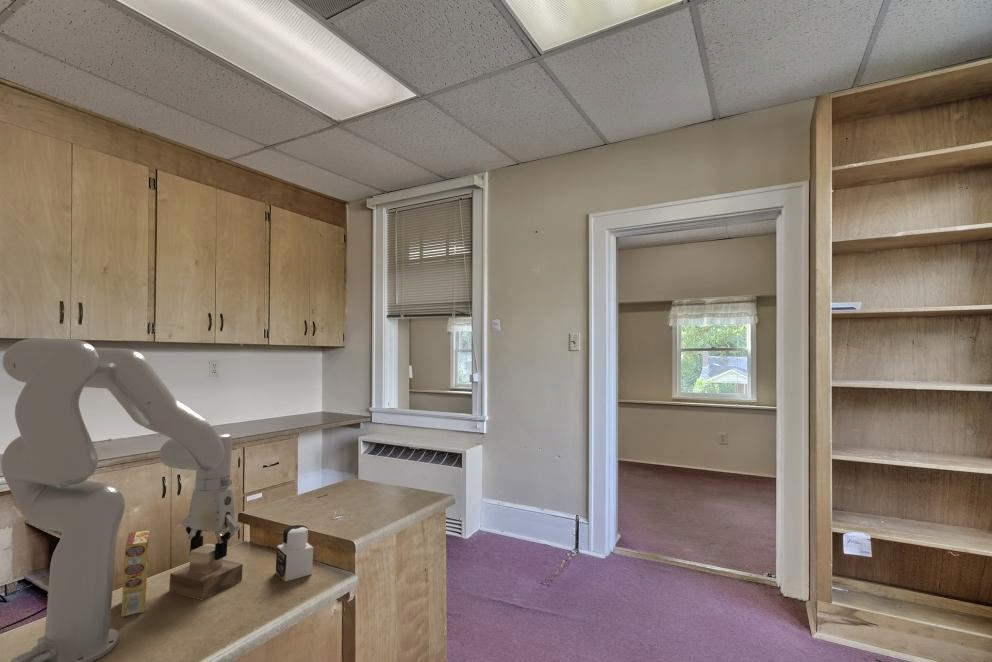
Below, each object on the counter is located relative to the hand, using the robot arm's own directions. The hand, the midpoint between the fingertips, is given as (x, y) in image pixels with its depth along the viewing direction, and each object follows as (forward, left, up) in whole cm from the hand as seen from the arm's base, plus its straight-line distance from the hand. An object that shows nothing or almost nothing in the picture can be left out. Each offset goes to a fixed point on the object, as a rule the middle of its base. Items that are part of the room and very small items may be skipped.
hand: (208, 555), depth 120 cm
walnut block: (0, 0, -8) cm, 8 cm away
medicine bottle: (+12, -16, -7) cm, 21 cm away
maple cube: (0, 0, -3) cm, 3 cm away
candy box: (-13, +7, -7) cm, 17 cm away
